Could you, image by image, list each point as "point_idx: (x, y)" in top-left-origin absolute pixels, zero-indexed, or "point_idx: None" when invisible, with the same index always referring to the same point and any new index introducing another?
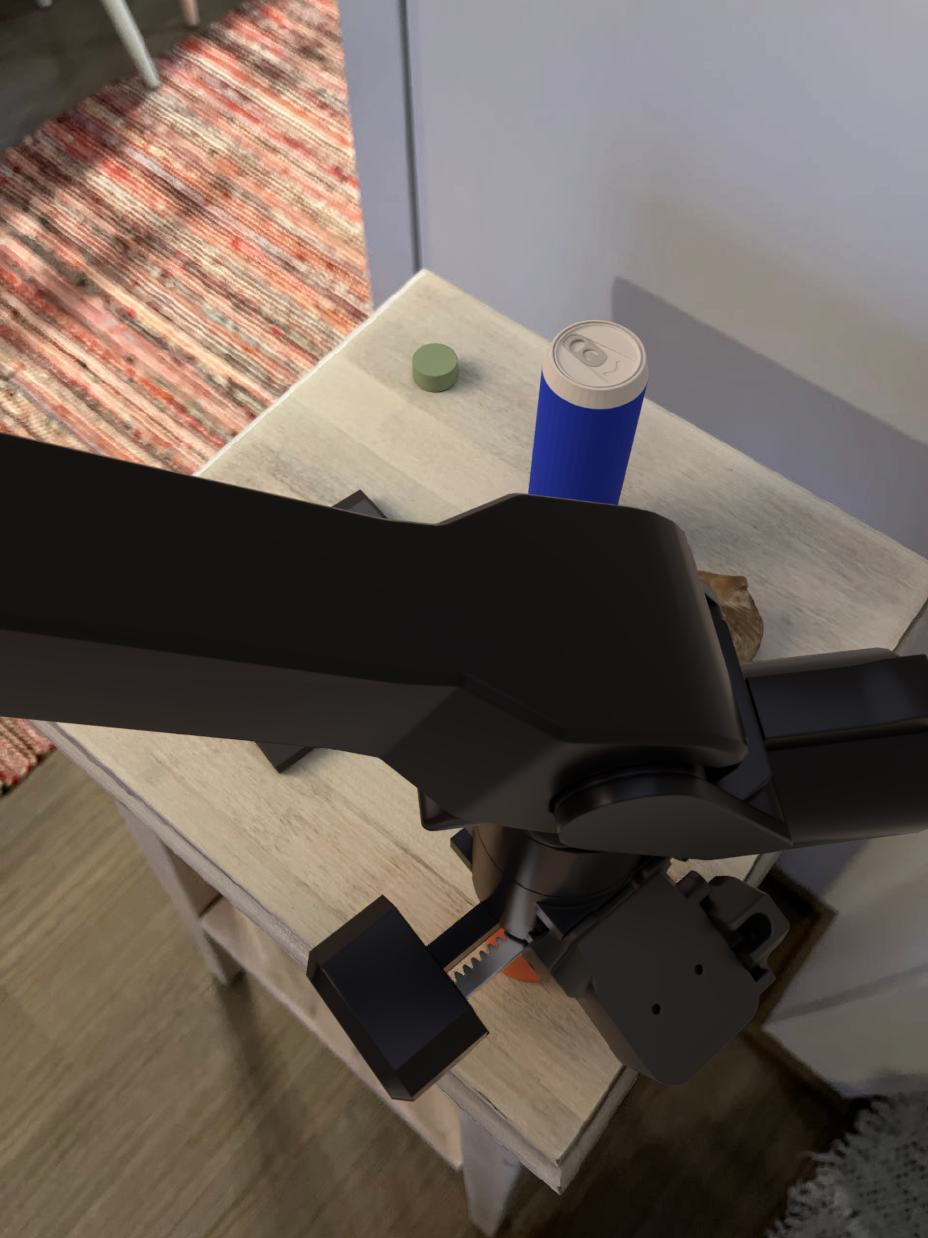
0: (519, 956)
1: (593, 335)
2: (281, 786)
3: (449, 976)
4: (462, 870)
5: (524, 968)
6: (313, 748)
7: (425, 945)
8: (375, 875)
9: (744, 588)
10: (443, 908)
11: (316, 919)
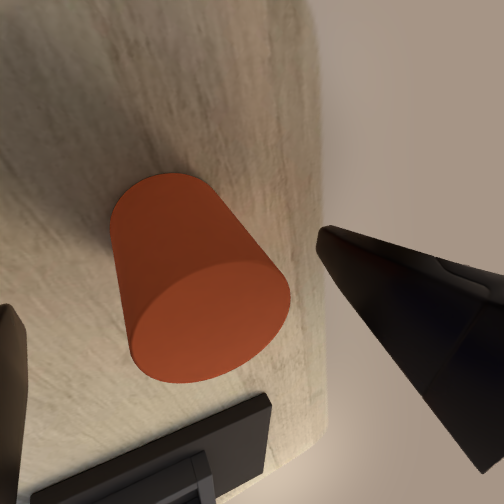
0: (284, 277)
1: None
2: (269, 385)
3: (393, 301)
4: None
5: (243, 227)
6: (237, 408)
7: (393, 350)
8: None
9: None
10: None
11: (314, 305)
